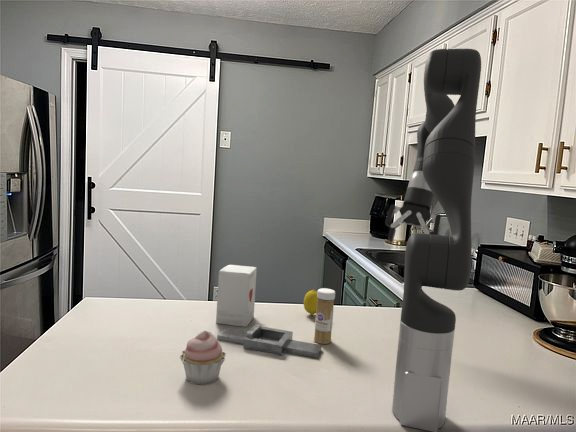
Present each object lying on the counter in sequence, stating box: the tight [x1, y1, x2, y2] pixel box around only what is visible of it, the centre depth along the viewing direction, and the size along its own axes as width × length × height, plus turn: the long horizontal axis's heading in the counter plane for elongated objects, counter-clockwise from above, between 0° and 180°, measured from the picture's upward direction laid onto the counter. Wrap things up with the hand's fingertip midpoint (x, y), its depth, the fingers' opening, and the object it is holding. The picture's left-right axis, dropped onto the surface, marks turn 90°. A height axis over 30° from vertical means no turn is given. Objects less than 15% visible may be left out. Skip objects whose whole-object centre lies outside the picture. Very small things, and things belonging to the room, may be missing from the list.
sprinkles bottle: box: [313, 287, 336, 345], centre depth 106 cm, size 5×5×13 cm
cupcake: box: [179, 330, 227, 385], centre depth 84 cm, size 9×9×10 cm
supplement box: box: [215, 264, 258, 328], centre depth 117 cm, size 9×9×15 cm
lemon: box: [303, 289, 318, 316], centre depth 125 cm, size 6×6×8 cm
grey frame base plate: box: [216, 323, 322, 359], centre depth 102 cm, size 10×26×3 cm, turn 74°
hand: (406, 246), depth 114 cm, fingers open, 8 cm apart
